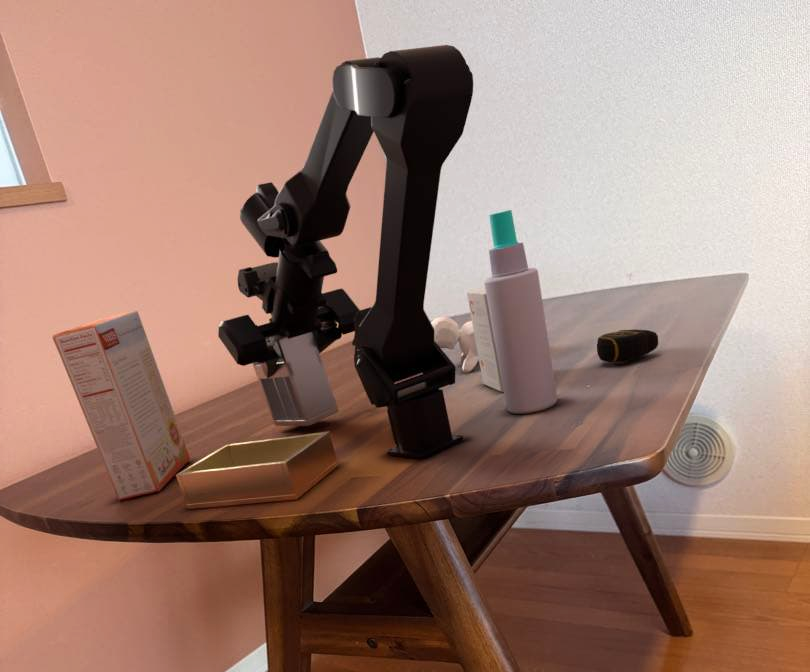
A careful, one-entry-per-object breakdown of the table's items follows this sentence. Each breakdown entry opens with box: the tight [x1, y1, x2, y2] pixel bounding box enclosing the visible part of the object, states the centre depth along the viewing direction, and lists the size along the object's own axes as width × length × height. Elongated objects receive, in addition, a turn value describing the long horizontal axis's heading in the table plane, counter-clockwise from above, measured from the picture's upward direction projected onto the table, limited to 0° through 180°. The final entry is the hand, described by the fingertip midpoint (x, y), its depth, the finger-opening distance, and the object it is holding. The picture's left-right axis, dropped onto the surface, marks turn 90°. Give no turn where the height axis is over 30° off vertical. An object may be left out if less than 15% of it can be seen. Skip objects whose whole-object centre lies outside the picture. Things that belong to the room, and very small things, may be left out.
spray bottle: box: [483, 209, 558, 415], centre depth 88 cm, size 6×6×22 cm
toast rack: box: [251, 332, 339, 427], centre depth 108 cm, size 9×5×12 cm, turn 42°
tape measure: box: [596, 329, 659, 365], centre depth 103 cm, size 7×7×4 cm
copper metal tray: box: [175, 430, 339, 510], centre depth 86 cm, size 14×10×4 cm
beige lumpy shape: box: [430, 316, 479, 374], centre depth 123 cm, size 9×8×15 cm
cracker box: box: [52, 310, 191, 501], centre depth 98 cm, size 14×6×21 cm, turn 178°
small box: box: [466, 286, 504, 393], centre depth 105 cm, size 8×6×13 cm
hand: (285, 369), depth 108 cm, fingers closed on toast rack, 6 cm apart
